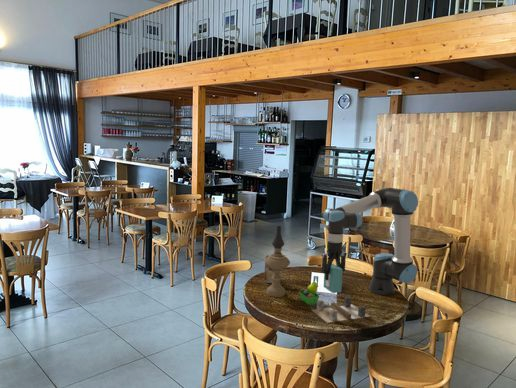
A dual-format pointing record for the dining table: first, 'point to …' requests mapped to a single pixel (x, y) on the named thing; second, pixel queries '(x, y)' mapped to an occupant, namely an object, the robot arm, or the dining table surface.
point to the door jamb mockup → (340, 311)
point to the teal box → (334, 279)
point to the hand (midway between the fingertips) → (332, 285)
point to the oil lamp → (277, 265)
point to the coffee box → (268, 273)
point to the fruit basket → (310, 294)
